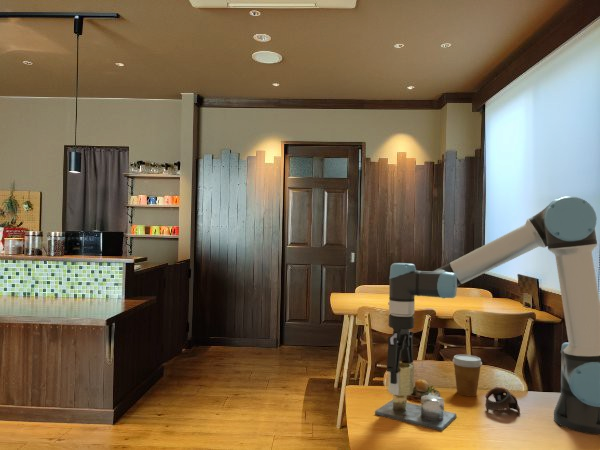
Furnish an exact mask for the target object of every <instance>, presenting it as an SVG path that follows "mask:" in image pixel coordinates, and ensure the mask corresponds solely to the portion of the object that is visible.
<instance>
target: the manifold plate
mask: <svg viewBox="0 0 600 450" xmlns="http://www.w3.org/2000/svg"><path fill="white" fill-rule="evenodd" d="M392 397H393V398H392V400H390V401H389V402H387V403H385V404H383V405H382V406H381V407H379V408H378V409H376V410H374V415H376V416H380V417H385V418H388V419H392V420H396V421H400V422H404V423H407V424H412V425H416V426H420V427H423V428H428V429H432V430H436V431H440V432H443V431H444V430H445V429H446V428H447V427H448V426H449V425H450V424H451V423H452V422H453V421H455V419H456V418H457V413H456V412H455V413H454V412H451V411H447V410H445V399H444V398H443V397H441V396H440V397H438V396H433V395H425V396H422V397H421V402H420V404H416V403H411V402H407V401H408V400H407V399H408V398H407V395H405V396H399V395H394V394H392Z"/></svg>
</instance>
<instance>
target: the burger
mask: <svg viewBox="0 0 600 450" xmlns="http://www.w3.org/2000/svg"><path fill="white" fill-rule="evenodd" d="M425 395H433V396H438V397H441V392H440V391H439V390H437V389H436V388H435V387H434V386H433V385H431V386H429V383H428V382H427V381H426V380H425V379H423V378H420V379H417V380H416V381H415V383H414V386H413V393H412V394H411V395H407V399H411V401H412V400H413V401H414V402H418V403H421V397H422V396H425ZM413 401H412V402H413Z"/></svg>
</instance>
